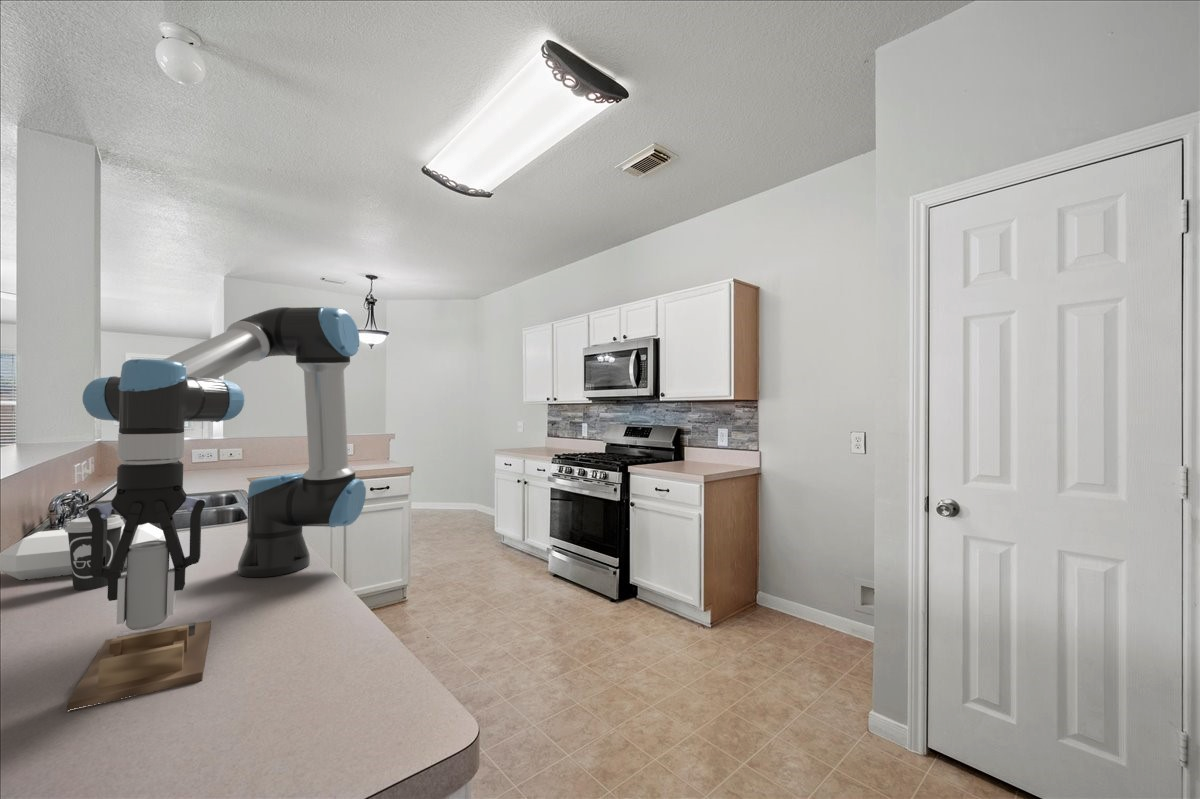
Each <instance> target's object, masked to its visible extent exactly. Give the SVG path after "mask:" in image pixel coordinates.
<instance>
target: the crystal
mask: <svg viewBox="0 0 1200 799" xmlns="http://www.w3.org/2000/svg"><path fill="white" fill-rule="evenodd" d="M124 526H125V525H123V526H122V528H121V535H120V539H121V536H122V533H123V529H124ZM159 540H163V541H166V540H165V536H164V533H163V530H162V528H158V527H157V526H155V525H154V524H152V523H146V524H143V525H138V528H137V530H136V533H135V536H134V538H133V541H132V544H131V545H133V544H137V543H141V542H148V541H159ZM124 569H127V558H126V561H125V564H124V567H123V570H124ZM0 572H1V573H4V574H5V575H9V576H10V577H13V578H15V579H17V580H20V581H26V580H25V579H28V580H36V578H37V579H44V578H45V577H46V578H52V577H53V576H55V577H62V576H61V575H63V576H68V575H69V574H72V569H71V559H70V548H69V539H68V532H65V529H57V530H55V529H54V530H43V531H37V532H35V533H32V534H31V535H30V534H29V535H28V536H25V537H23V538H22V539H20V540H18V541H17V542H16V543H14V544H12V545H11V546H10V547H8V548H6V549H5V550H3V551H1V552H0Z"/></svg>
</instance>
